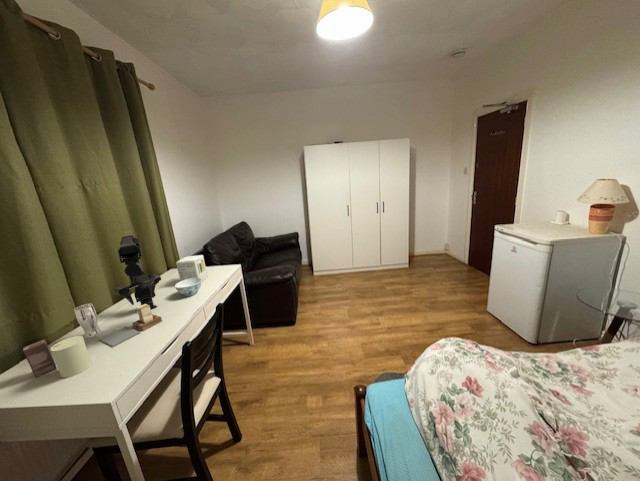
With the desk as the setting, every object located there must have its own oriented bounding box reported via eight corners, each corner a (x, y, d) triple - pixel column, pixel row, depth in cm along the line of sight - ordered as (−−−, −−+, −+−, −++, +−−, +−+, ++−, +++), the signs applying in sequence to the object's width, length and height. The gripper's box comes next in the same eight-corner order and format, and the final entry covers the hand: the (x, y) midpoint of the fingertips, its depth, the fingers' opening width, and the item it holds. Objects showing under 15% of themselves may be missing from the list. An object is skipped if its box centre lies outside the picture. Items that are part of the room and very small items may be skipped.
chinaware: (208, 288, 166) (206, 277, 164) (193, 299, 152) (191, 287, 150) (188, 288, 169) (185, 278, 167) (172, 299, 154) (169, 287, 153)
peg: (141, 325, 127) (136, 307, 124) (150, 321, 130) (144, 303, 128) (146, 327, 125) (140, 308, 122) (154, 323, 128) (149, 305, 126)
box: (56, 364, 103) (45, 338, 100) (57, 369, 100) (46, 342, 97) (34, 373, 98) (22, 346, 96) (34, 378, 96) (22, 351, 93)
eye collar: (133, 327, 126) (132, 322, 125) (152, 318, 133) (151, 313, 133) (143, 331, 121) (141, 326, 121) (162, 321, 129) (160, 316, 128)
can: (67, 365, 101) (57, 339, 98) (96, 357, 105) (87, 331, 102) (55, 381, 93) (43, 353, 90) (86, 371, 96) (76, 344, 94)
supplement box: (199, 284, 174) (194, 260, 170) (181, 286, 175) (175, 262, 171) (208, 277, 187) (203, 254, 183) (191, 278, 188) (185, 256, 184)
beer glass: (81, 341, 118) (70, 312, 115) (86, 333, 124) (76, 306, 121) (100, 335, 121) (90, 307, 118) (104, 328, 127) (95, 301, 124)
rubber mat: (99, 340, 118) (98, 338, 117) (125, 327, 127) (125, 326, 127) (113, 347, 111) (113, 345, 111) (140, 333, 120) (140, 331, 120)
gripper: (121, 280, 109) (131, 312, 113) (163, 265, 125) (171, 294, 129) (108, 277, 114) (118, 308, 118) (151, 263, 130) (158, 291, 134)
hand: (143, 300), depth 125 cm, fingers open, 9 cm apart
